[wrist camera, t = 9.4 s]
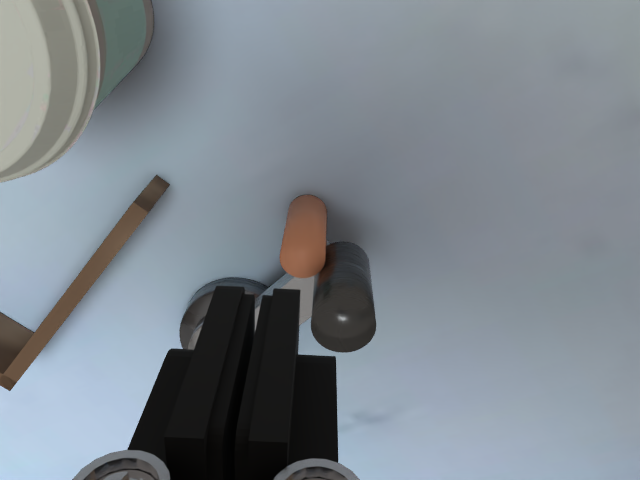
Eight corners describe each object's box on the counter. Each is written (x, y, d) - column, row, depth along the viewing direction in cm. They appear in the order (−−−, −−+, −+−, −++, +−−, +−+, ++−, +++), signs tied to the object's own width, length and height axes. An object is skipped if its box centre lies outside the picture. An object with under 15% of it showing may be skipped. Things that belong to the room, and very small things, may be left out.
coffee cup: (74, -152, 22) (-169, -258, 12) (224, 24, 25) (140, 70, 14) (-48, -2, 25) (-341, 24, 14) (100, 143, 28) (-50, 257, 17)
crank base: (311, 319, 32) (311, 334, 31) (248, 381, 34) (245, 398, 33) (226, 257, 30) (221, 271, 29) (165, 327, 32) (158, 342, 31)
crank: (235, 386, 32) (214, 476, 26) (176, 339, 31) (140, 423, 25) (390, 267, 28) (403, 341, 23) (331, 207, 27) (329, 271, 21)
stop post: (334, 211, 29) (334, 256, 24) (310, 237, 30) (305, 286, 25) (305, 187, 28) (299, 228, 24) (280, 214, 29) (270, 260, 25)
